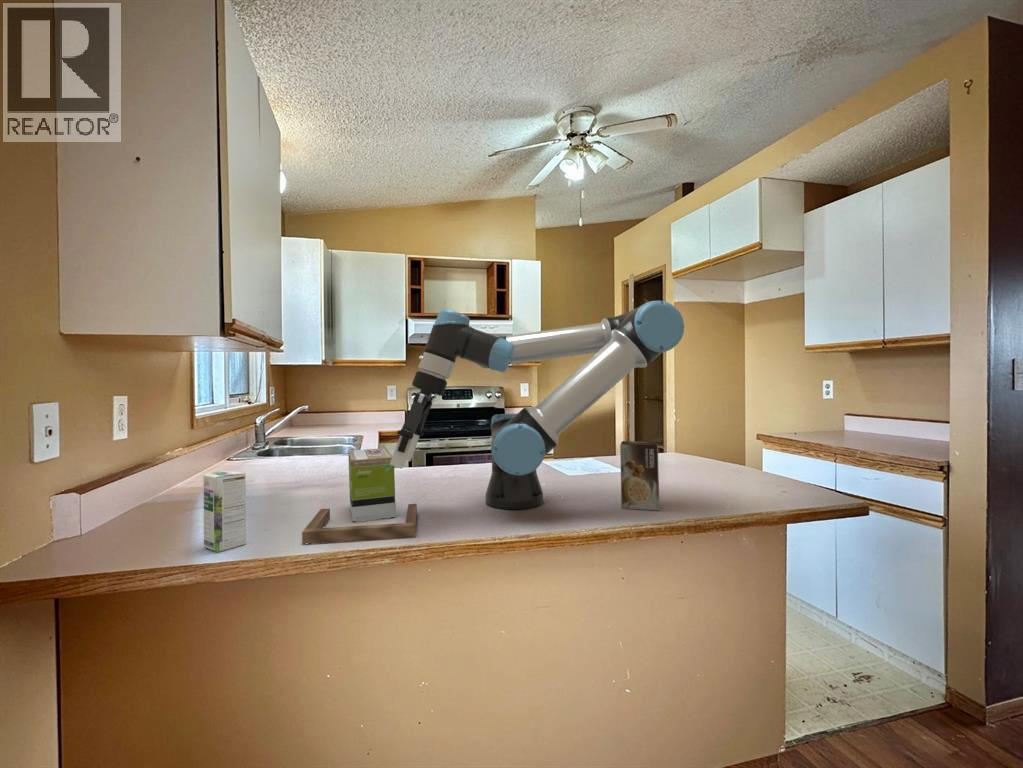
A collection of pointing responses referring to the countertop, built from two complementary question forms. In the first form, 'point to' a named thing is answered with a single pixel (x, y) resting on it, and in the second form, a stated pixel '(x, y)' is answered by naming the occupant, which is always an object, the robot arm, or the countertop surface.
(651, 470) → the coffee box
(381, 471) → the tea box
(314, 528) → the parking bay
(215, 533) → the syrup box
